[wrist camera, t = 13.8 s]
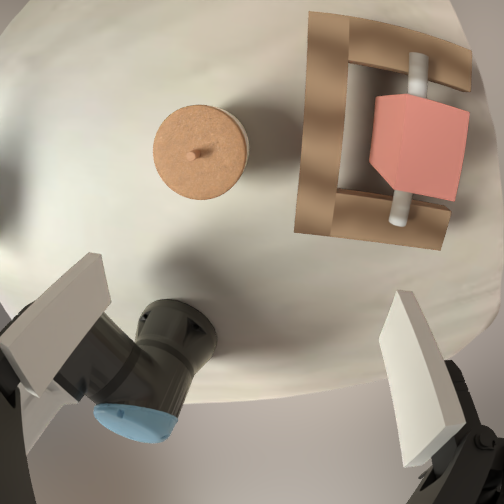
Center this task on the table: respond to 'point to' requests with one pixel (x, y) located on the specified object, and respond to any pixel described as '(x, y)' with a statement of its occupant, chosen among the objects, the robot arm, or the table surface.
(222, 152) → the lidded jar
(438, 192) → the salmon red channel block
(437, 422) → the robot arm
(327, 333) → the table surface
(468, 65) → the wooden frame with rod
